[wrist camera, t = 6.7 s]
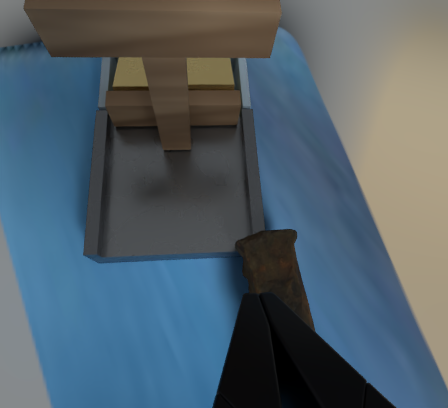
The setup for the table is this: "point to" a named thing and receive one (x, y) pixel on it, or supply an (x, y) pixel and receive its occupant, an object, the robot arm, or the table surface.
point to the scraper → (161, 52)
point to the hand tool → (275, 268)
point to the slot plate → (172, 192)
